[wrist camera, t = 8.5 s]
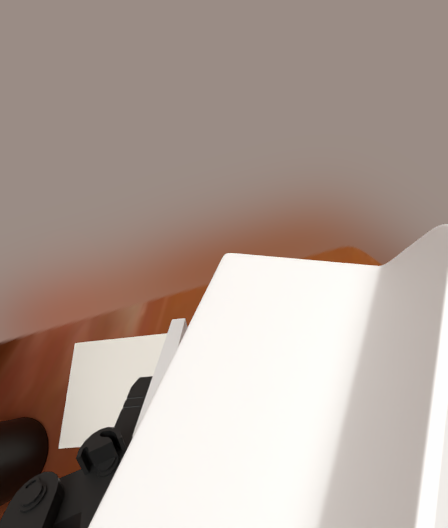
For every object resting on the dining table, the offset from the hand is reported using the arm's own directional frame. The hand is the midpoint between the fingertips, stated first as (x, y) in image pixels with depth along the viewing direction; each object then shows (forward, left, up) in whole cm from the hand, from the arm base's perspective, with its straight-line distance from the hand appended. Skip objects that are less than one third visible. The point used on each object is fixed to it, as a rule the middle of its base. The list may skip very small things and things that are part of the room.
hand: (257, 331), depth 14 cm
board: (-19, -2, -26) cm, 32 cm away
